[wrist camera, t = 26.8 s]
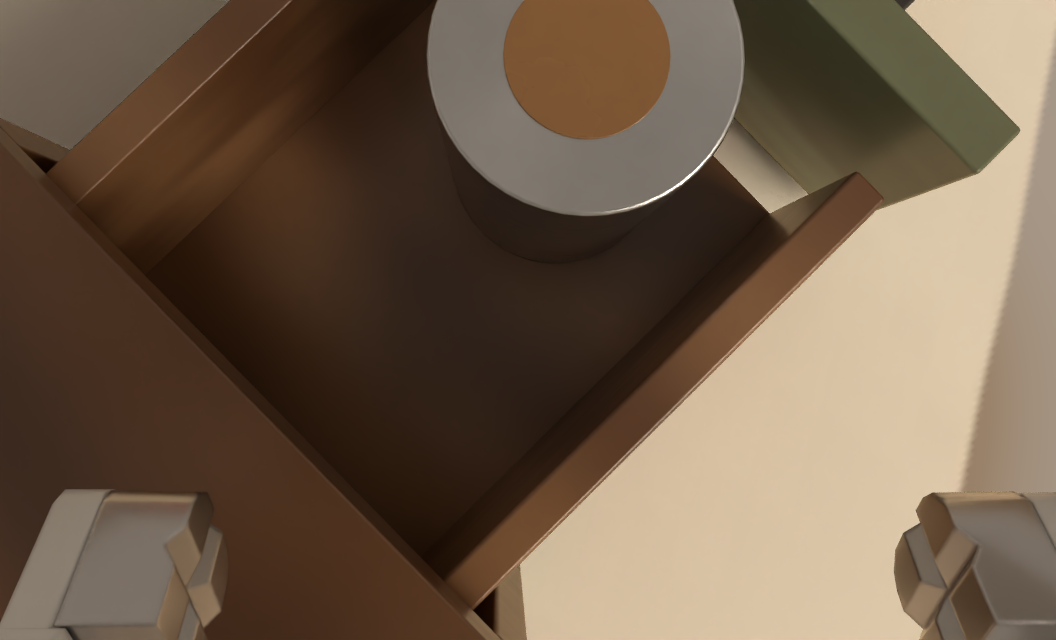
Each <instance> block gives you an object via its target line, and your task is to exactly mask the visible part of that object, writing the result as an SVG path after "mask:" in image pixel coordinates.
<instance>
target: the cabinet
mask: <svg viewBox="0 0 1056 640" xmlns="http://www.w3.org/2000/svg"><path fill="white" fill-rule="evenodd" d="M69 151H70V150H69V149H67V148H64V147H62V146H60V145H58V144H56V143H54V142H51V141H49V140H47V139H45V138H43V137H40V136H38V135H36V134H34V133H32V132H29V131H27V130H25V129H23V128H21V127H19V126H16V125H14V124H12V123H10V122H8V121H5V120H3V119H1V118H0V622H1V620H2V617H3V615H4V613H5V610H6V608H7V606H8V604H9V601H10V599H11V597H12V595H13V592H14V590H15V588H16V586H17V583H18V581H19V579H20V576H21V574H22V572H23V570H24V567H25V565H26V563H27V561H28V558H29V556H30V554H31V552H32V549H33V547H34V545H35V542H36V540H37V538H38V536H39V533H40V531H41V529H42V527H43V524H44V522H45V520H46V518H47V515H48V513H49V511H50V508H51V506H52V504H53V503H54V502H55V500H56V499H57V498H58V497H59V496H60V495H61V494H62V492H63V491H64V490H65V489H114V490H150V491H207V492H208V494H209V497H210V499H211V501H212V504H213V506H214V508H215V509H214V513H213V516H212V520H211V524H212V525H214V526H215V527H217V528H218V529H220V530H221V531H223V534H224V537H225V540H226V543H227V549H228V558H229V567H228V579H227V589H226V593H225V597H224V602H223V606H222V610H221V612H220V613H219V614H218V615H217V616H216V617H215V618H214V619H213V620H212V621H211V622H210V623H209V624H208V625H207V626H206V627H205V628H204V631H205V633H206V636H207V638H208V640H527V637H526V626H525V615H524V604H523V593H522V582H521V572H520V564H519V565H518V566H517V567H516V568H515V569H514V570H513V571H512V572H511V573H510V574H509V575H508V576H507V577H506V578H505V579H504V580H503V581H502V582H501V583H500V584H499V585H498V586H497V587H496V588H495V589H494V590H493V591H492V592H491V593H490V594H489V595H488V596H487V597H486V598H485V599H484V600H483V601H482V602H481V603H480V604H479V605H478V606H477V607H476V608H475V609H474V610H472V609H471V608H470V607H469V606H468V605H467V604H466V603H465V602H464V601H463V600H462V599H461V598H460V597H459V596H458V595H457V594H456V593H455V592H454V591H453V590H452V589H451V588H450V587H449V586H448V585H447V584H446V583H445V582H444V581H443V580H442V579H441V578H440V577H439V576H438V575H437V574H436V572H435V571H434V570H433V569H432V568H431V567H430V566H429V565H428V564H427V563H426V562H425V561H424V560H423V559H422V558H421V557H420V556H419V555H418V554H417V553H416V552H415V551H414V550H413V549H412V548H411V547H410V546H409V545H408V544H407V543H406V542H405V541H404V540H403V539H402V538H401V537H400V536H399V535H398V534H397V533H396V532H395V531H394V530H393V529H392V527H391V526H390V525H389V524H388V523H387V522H386V521H385V520H384V519H383V518H382V517H381V516H380V515H379V514H378V513H377V512H376V511H375V510H374V509H373V508H372V507H371V506H370V505H369V504H368V503H367V502H366V501H365V500H364V499H363V498H362V497H361V496H360V495H359V494H358V493H357V492H356V491H355V490H354V489H353V488H352V487H351V486H350V485H349V484H348V482H347V481H346V480H345V479H344V478H343V477H342V476H341V475H340V474H339V473H338V472H337V471H336V470H335V469H334V468H333V467H332V466H331V465H330V464H329V463H328V462H327V461H326V460H325V459H324V458H323V457H322V456H321V455H320V454H319V453H318V452H317V451H316V450H315V449H314V448H313V447H312V446H311V445H310V444H309V443H308V442H307V441H306V440H305V439H304V437H303V436H302V435H301V434H300V433H299V432H298V431H297V430H296V429H295V428H294V427H293V426H292V425H291V424H290V423H289V422H288V421H287V420H286V419H285V418H284V417H283V416H282V415H281V414H280V413H279V412H278V411H277V410H276V409H275V408H274V407H273V406H272V405H271V404H270V403H269V402H268V401H267V400H266V399H265V398H264V397H263V396H262V395H261V394H260V392H259V391H258V390H257V389H256V388H255V387H254V386H253V385H252V384H251V383H250V382H249V381H248V380H247V379H246V378H245V377H244V376H243V375H242V374H241V373H240V372H239V371H238V370H237V369H236V368H235V367H234V366H233V365H232V364H231V363H230V362H229V361H228V360H227V359H226V358H225V357H224V356H223V355H222V354H221V353H220V352H219V351H218V350H217V349H216V348H215V346H214V345H213V344H212V343H211V342H210V341H209V340H208V339H207V338H206V337H205V336H204V335H203V334H202V333H201V332H200V331H199V330H198V329H197V328H196V327H195V326H194V325H193V324H192V323H191V322H190V321H189V320H188V319H187V318H186V317H185V316H184V315H183V314H182V313H181V312H180V311H179V310H178V309H177V308H176V307H175V306H174V305H173V304H172V303H171V301H170V300H169V299H168V298H167V297H166V296H165V295H164V294H163V293H162V292H161V291H160V290H159V289H158V288H157V287H156V286H155V285H154V284H153V283H152V282H151V281H150V280H149V279H148V278H147V277H146V276H145V275H144V274H143V273H142V272H141V271H140V270H139V269H138V268H137V267H136V266H135V265H134V264H133V263H132V262H131V261H130V260H129V259H128V258H127V256H126V255H125V254H124V253H123V252H122V251H121V250H120V249H119V248H118V247H117V246H116V245H115V244H114V243H113V242H112V241H111V240H110V239H109V238H108V237H107V236H106V235H105V234H104V233H103V232H102V231H101V230H100V229H99V228H98V227H97V226H96V225H95V224H94V223H93V222H92V221H91V220H90V219H89V218H88V217H87V216H86V215H85V214H84V213H83V211H82V210H81V209H80V208H79V207H78V206H77V205H76V204H75V203H74V202H73V201H72V200H71V199H70V198H69V197H68V196H67V195H66V194H65V193H64V192H63V191H62V190H61V189H60V188H59V187H58V186H57V185H56V184H55V183H54V182H53V181H52V180H51V179H50V178H49V177H48V176H47V175H46V173H47V172H48V171H49V170H50V169H51V168H52V167H53V166H54V165H55V164H56V163H58V162H59V161H60V160H61V159H62V158H63V157H64V156H65V155H66V154H67V153H68V152H69Z"/></svg>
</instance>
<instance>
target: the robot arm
mask: <svg viewBox="0 0 1056 640" xmlns="http://www.w3.org/2000/svg"><path fill="white" fill-rule="evenodd" d="M214 509H215V508H214V506H213V504H212V501H211V499H210V497H209V494H208V492H207V491H150V490H114V489H65V490H64V491H63V492H62V494H61V495H60V496H59V497H58V498H57V499H56V500H55V502H54V503H53V504H52V506H51V508H50V511H49V513H48V515H47V518H46V520H45V522H44V524H43V527H42V529H41V531H40V533H39V536H38V538H37V540H36V542H35V545H34V547H33V549H32V552H31V554H30V556H29V558H28V561H27V563H26V565H25V567H24V570H23V572H22V574H21V576H20V579H19V581H18V583H17V586H16V588H15V590H14V592H13V595H12V597H11V599H10V601H9V604H8V606H7V608H6V610H5V613H4V615H3V617H2V620H1V622H0V640H208V638H207V636H206V633H205V631H204V628H205V627H206V626H207V625H208V624H209V623H210V622H211V621H212V620H213V619H214V618H215V617H216V616H217V615H218V614H219V613H220V612H221V610H222V606H223V602H224V597H225V593H226V589H227V579H228V567H229V558H228V549H227V543H226V540H225V537H224V534H223V531H221V530H220V529H218V528H217V527H215V526H214V525H212V524H211V520H212V516H213V513H214ZM916 513H917V515H918V518H919V521H920V523H919V524H918V525H916V526H914V527H913V528H911V529H909V530H908V531H906V532H904V533H903V535H902V537H901V539H900V541H899V543H898V545H897V548H896V550H895V563H894V575H895V581H896V587H897V592H898V595H899V598H900V601H901V604H902V607H903V610H904V612H905V613H907V614H908V615H909V616H910V617H911V618H912V619H913V620H914V621H915V622H916V623H917V624H918V625H919V626H921V627H922V628H923V631H922V633H921V636H920V639H919V640H1056V493H1015V492H950V493H931V494H929V495H927V496H925V497H923V499H922V501H921V502H920V504H919V506H918V508H917V509H916Z"/></svg>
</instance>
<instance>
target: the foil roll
mask: <svg viewBox="0 0 1056 640" xmlns="http://www.w3.org/2000/svg"><path fill="white" fill-rule="evenodd" d="M426 61H427V77H428V82H429V88H430V93H431V98H432V101H433V105H434V108H435V112H436V116H437V119H438V123H439V127H440V130H441V134H442V138H443V141H444V145H445V149H446V152H447V156H448V159H449V163H450V167H451V170H452V174H453V178H454V181H455V185H456V188H457V191H458V194H459V197H460V200H461V202H462V204H463V206H464V208H465V210H466V212H467V213H468V215H469V216H470V218H471V219H472V221H473V222H474V223H475V225H476V226H477V227H478V228H479V229H480V230H481V232H482V233H484V234H485V235H486V236H487V237H488V238H489V239H490V240H491V241H493V242H494V243H495V244H497V245H498V246H500V247H501V248H503V249H505V250H507V251H509V252H511V253H513V254H514V255H517V256H520V257H523V258H525V259H528V260H533V261H538V262H545V263H569V262H574V261H579V260H583V259H586V258H590V257H593V256H595V255H597V254H599V253H601V252H604V251H606V250H607V249H609V248H610V247H612V246H614V245H615V244H617V243H618V242H619V241H620V240H622V239H623V238H624V237H625V236H626V235H627V234H628V233H630V232H631V231H632V230H633V229H634V228H635V227H636V226H638V225H639V224H640V223H641V222H642V221H643V220H644V219H646V218H647V217H648V216H649V215H650V214H651V213H652V212H654V211H655V210H656V209H657V208H658V207H659V206H660V205H661V204H663V203H664V202H665V201H666V200H667V199H668V198H669V197H671V196H672V195H673V194H674V193H675V192H676V191H677V190H679V189H680V188H681V187H682V186H683V185H684V184H685V183H686V182H688V181H689V180H690V179H691V178H692V177H693V176H694V175H696V174H697V173H698V172H699V171H700V170H701V169H702V167H703V166H704V165H705V164H706V163H707V162H708V161H709V160H710V158H711V157H712V156H713V155H714V153H715V152H716V150H717V149H718V147H719V146H720V144H721V143H722V141H723V140H724V138H725V136H726V134H727V132H728V130H729V128H730V126H731V124H732V122H733V119H734V117H735V114H736V111H737V108H738V105H739V102H740V97H741V92H742V87H743V83H744V70H745V51H744V39H743V34H742V29H741V23H740V19H739V16H738V13H737V10H736V7H735V4H734V1H733V0H437V2H436V4H435V7H434V10H433V13H432V17H431V21H430V26H429V31H428V38H427V50H426Z"/></svg>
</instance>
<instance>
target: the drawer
mask: <svg viewBox="0 0 1056 640" xmlns="http://www.w3.org/2000/svg"><path fill="white" fill-rule="evenodd" d="M733 1H734V4H735V7H736V10H737V13H738V16H739V19H740V23H741V29H742V34H743V39H744V51H745V70H744V83H743V87H742V92H741V97H740V102H739V105H738V108H737V111H736V114H735V117H734V118H735V119H736V120H737V121H738V122H739V123H740V124H741V125H742V126H743V127H744V128H745V129H746V130H747V131H748V132H749V133H750V134H751V135H752V136H753V138H754V139H755V140H756V141H757V142H758V143H759V144H760V145H761V146H762V147H763V148H764V149H765V150H766V151H767V152H768V153H769V154H770V155H771V156H772V157H773V158H774V159H775V160H776V161H777V162H778V163H779V164H780V165H781V166H782V167H783V168H784V169H785V170H786V171H787V172H788V173H789V174H790V175H791V176H792V177H793V178H794V179H795V180H796V182H797V183H798V184H799V185H800V186H801V187H802V188H803V189H804V190H805V191H806V192H807V193H808V194H809V195H807V196H805V197H803V198H801V199H798V200H796V201H794V202H792V203H790V204H788V205H786V206H784V207H782V208H780V209H778V210H776V211H774V212H772V213H769V212H768V211H767V210H766V209H765V208H764V207H763V206H762V205H761V204H760V203H759V202H758V201H757V200H756V199H755V198H754V197H753V196H752V195H751V194H750V193H749V192H748V191H747V190H746V189H745V188H744V187H743V186H742V185H741V184H740V183H739V182H738V181H737V180H736V179H735V178H734V177H733V176H732V174H731V173H730V172H729V171H728V170H727V169H726V168H725V167H724V166H723V165H722V164H721V163H720V162H719V161H718V160H717V159H716V158H715V157H714V156H712V157H711V158H710V160H709V161H708V162H707V163H706V164H705V165H704V166H703V167H702V169H701V170H700V171H699V172H698V173H697V174H696V175H694V176H693V177H692V178H691V179H690V180H689V181H688V182H686V183H685V184H684V185H683V186H682V187H681V188H680V189H679V190H677V191H676V192H675V193H674V194H673V195H672V196H671V197H669V198H668V199H667V200H666V201H665V202H664V203H663V204H661V205H660V206H659V207H658V208H657V209H656V210H655V211H654V212H652V213H651V214H650V215H649V216H648V217H647V218H646V219H644V220H643V221H642V222H641V223H640V224H639V225H638V226H636V227H635V228H634V229H633V230H632V231H631V232H630V233H628V234H627V235H626V236H625V237H624V238H623V239H622V240H620V241H619V242H618V243H617V244H615V245H614V246H612V247H610V248H609V249H607V250H606V251H604V252H601V253H599V254H597V255H595V256H593V257H590V258H586V259H583V260H579V261H574V262H569V263H545V262H538V261H533V260H528V259H525V258H523V257H520V256H517V255H514V254H513V253H511V252H509V251H507V250H505V249H503V248H501V247H500V246H498V245H497V244H495V243H494V242H493V241H491V240H490V239H489V238H488V237H487V236H486V235H485V234H484V233H482V232H481V230H480V229H479V228H478V227H477V226H476V225H475V223H474V222H473V221H472V219H471V218H470V216H469V215H468V213H467V212H466V210H465V208H464V206H463V204H462V202H461V200H460V197H459V194H458V191H457V188H456V185H455V181H454V178H453V174H452V170H451V167H450V163H449V159H448V156H447V152H446V149H445V145H444V141H443V138H442V134H441V130H440V127H439V123H438V119H437V116H436V112H435V108H434V105H433V101H432V98H431V93H430V88H429V82H428V77H427V61H426V50H427V38H428V31H429V26H430V21H431V17H432V13H433V10H434V7H435V4H436V2H437V0H230V1H229V2H228V3H227V4H226V5H225V6H224V7H223V8H222V9H221V10H220V11H218V12H217V13H216V14H215V15H214V16H213V17H212V18H211V19H210V20H209V21H208V22H207V23H206V24H205V25H204V26H202V27H201V28H200V29H199V30H198V31H197V32H196V33H195V34H194V35H193V36H192V37H191V38H190V39H189V40H188V41H187V42H185V43H184V44H183V45H182V46H181V47H180V48H179V49H178V50H177V51H176V52H175V53H174V54H173V55H172V56H171V57H169V58H168V59H167V60H166V61H165V62H164V63H163V64H162V65H161V66H160V67H159V68H158V69H157V70H156V71H155V72H153V73H152V74H151V75H150V76H149V77H148V78H147V79H146V80H145V81H144V82H143V83H142V84H141V85H140V86H139V87H137V88H136V89H135V90H134V91H133V92H132V93H131V94H130V95H129V96H128V97H127V98H126V99H125V100H124V101H123V102H121V103H120V104H119V105H118V106H117V107H116V108H115V109H114V110H113V111H112V112H111V113H110V114H109V115H108V116H107V117H106V118H104V119H103V120H102V121H101V122H100V123H99V124H98V125H97V126H96V127H95V128H94V129H93V130H92V131H91V132H90V133H88V134H87V135H86V136H85V137H84V138H83V139H82V140H81V141H80V142H79V143H78V144H77V145H76V146H75V147H74V148H72V149H71V150H70V151H69V152H68V153H67V154H66V155H65V156H64V157H63V158H62V159H61V160H60V161H59V162H58V163H56V164H55V165H54V166H53V167H52V168H51V169H50V170H49V171H48V172H47V173H46V175H47V176H48V177H49V178H50V179H51V180H52V181H53V182H54V183H55V184H56V185H57V186H58V187H59V188H60V189H61V190H62V191H63V192H64V193H65V194H66V195H67V196H68V197H69V198H70V199H71V200H72V201H73V202H74V203H75V204H76V205H77V206H78V207H79V208H80V209H81V210H82V211H83V213H84V214H85V215H86V216H87V217H88V218H89V219H90V220H91V221H92V222H93V223H94V224H95V225H96V226H97V227H98V228H99V229H100V230H101V231H102V232H103V233H104V234H105V235H106V236H107V237H108V238H109V239H110V240H111V241H112V242H113V243H114V244H115V245H116V246H117V247H118V248H119V249H120V250H121V251H122V252H123V253H124V254H125V255H126V256H127V258H128V259H129V260H130V261H131V262H132V263H133V264H134V265H135V266H136V267H137V268H138V269H139V270H140V271H141V272H142V273H143V274H144V275H145V276H146V277H147V278H148V279H149V280H150V281H151V282H152V283H153V284H154V285H155V286H156V287H157V288H158V289H159V290H160V291H161V292H162V293H163V294H164V295H165V296H166V297H167V298H168V299H169V300H170V301H171V303H172V304H173V305H174V306H175V307H176V308H177V309H178V310H179V311H180V312H181V313H182V314H183V315H184V316H185V317H186V318H187V319H188V320H189V321H190V322H191V323H192V324H193V325H194V326H195V327H196V328H197V329H198V330H199V331H200V332H201V333H202V334H203V335H204V336H205V337H206V338H207V339H208V340H209V341H210V342H211V343H212V344H213V345H214V346H215V348H216V349H217V350H218V351H219V352H220V353H221V354H222V355H223V356H224V357H225V358H226V359H227V360H228V361H229V362H230V363H231V364H232V365H233V366H234V367H235V368H236V369H237V370H238V371H239V372H240V373H241V374H242V375H243V376H244V377H245V378H246V379H247V380H248V381H249V382H250V383H251V384H252V385H253V386H254V387H255V388H256V389H257V390H258V391H259V392H260V394H261V395H262V396H263V397H264V398H265V399H266V400H267V401H268V402H269V403H270V404H271V405H272V406H273V407H274V408H275V409H276V410H277V411H278V412H279V413H280V414H281V415H282V416H283V417H284V418H285V419H286V420H287V421H288V422H289V423H290V424H291V425H292V426H293V427H294V428H295V429H296V430H297V431H298V432H299V433H300V434H301V435H302V436H303V437H304V439H305V440H306V441H307V442H308V443H309V444H310V445H311V446H312V447H313V448H314V449H315V450H316V451H317V452H318V453H319V454H320V455H321V456H322V457H323V458H324V459H325V460H326V461H327V462H328V463H329V464H330V465H331V466H332V467H333V468H334V469H335V470H336V471H337V472H338V473H339V474H340V475H341V476H342V477H343V478H344V479H345V480H346V481H347V482H348V484H349V485H350V486H351V487H352V488H353V489H354V490H355V491H356V492H357V493H358V494H359V495H360V496H361V497H362V498H363V499H364V500H365V501H366V502H367V503H368V504H369V505H370V506H371V507H372V508H373V509H374V510H375V511H376V512H377V513H378V514H379V515H380V516H381V517H382V518H383V519H384V520H385V521H386V522H387V523H388V524H389V525H390V526H391V527H392V529H393V530H394V531H395V532H396V533H397V534H398V535H399V536H400V537H401V538H402V539H403V540H404V541H405V542H406V543H407V544H408V545H409V546H410V547H411V548H412V549H413V550H414V551H415V552H416V553H417V554H418V555H419V556H420V557H421V558H422V559H423V560H424V561H425V562H426V563H427V564H428V565H429V566H430V567H431V568H432V569H433V570H434V571H435V572H436V574H437V575H438V576H439V577H440V578H441V579H442V580H443V581H444V582H445V583H446V584H447V585H448V586H449V587H450V588H451V589H452V590H453V591H454V592H455V593H456V594H457V595H458V596H459V597H460V598H461V599H462V600H463V601H464V602H465V603H466V604H467V605H468V606H469V607H470V608H471V609H472V610H474V609H475V608H476V607H477V606H478V605H479V604H480V603H481V602H482V601H483V600H484V599H485V598H486V597H487V596H488V595H489V594H490V593H491V592H492V591H493V590H494V589H495V588H496V587H497V586H498V585H499V584H500V583H501V582H502V581H503V580H504V579H505V578H506V577H507V576H508V575H509V574H510V573H511V572H512V571H513V570H514V569H515V568H516V567H517V566H518V565H519V564H520V563H521V562H522V561H523V560H524V559H525V558H526V557H527V556H528V555H529V554H530V553H531V552H532V551H533V550H534V549H535V548H536V547H537V546H538V545H539V544H540V543H541V542H542V541H543V540H544V539H545V538H546V537H547V536H548V535H549V534H551V533H552V532H553V531H554V530H555V529H556V528H557V527H558V526H559V525H560V524H561V523H562V522H563V521H564V520H565V519H566V518H567V517H568V516H569V515H570V514H571V513H572V512H573V511H574V510H575V509H576V508H577V507H578V506H579V505H580V504H581V503H582V502H583V501H584V500H585V499H586V498H587V497H588V496H589V495H590V494H591V493H592V492H593V491H594V490H595V489H596V488H597V487H598V486H599V485H600V484H601V483H602V482H603V481H604V480H605V479H606V478H607V477H608V476H609V475H610V474H611V473H612V472H613V471H614V470H615V469H616V468H617V467H618V466H619V465H620V464H621V463H622V462H623V461H624V460H625V459H626V458H627V457H628V456H629V455H630V454H631V453H632V452H633V451H634V450H635V449H636V448H637V447H638V446H639V445H640V444H641V443H642V442H643V441H644V440H645V439H646V438H647V437H648V436H649V435H650V434H651V433H652V432H653V431H654V430H655V429H656V428H657V427H658V426H659V425H660V424H661V423H662V422H663V421H664V420H665V419H666V418H667V417H668V416H669V415H670V414H671V413H672V412H673V411H674V410H675V409H676V408H677V407H678V406H679V405H680V404H681V403H682V402H683V401H684V400H685V399H686V398H687V397H688V396H689V395H690V394H691V393H692V392H694V391H695V390H696V389H697V388H698V387H699V386H700V385H701V384H702V383H703V382H704V381H705V380H706V379H707V378H708V377H709V376H710V375H711V374H712V373H713V372H714V371H715V370H716V369H717V368H718V367H719V366H720V365H721V364H722V363H723V362H724V361H725V360H726V359H727V358H728V357H729V356H730V355H731V354H732V353H733V352H734V351H735V350H736V349H737V348H738V347H739V346H740V345H741V344H742V343H743V342H744V341H745V340H746V339H747V338H748V337H749V336H750V335H751V334H752V333H753V332H754V331H755V330H756V329H757V328H758V327H759V326H760V325H761V324H762V323H763V322H764V321H765V320H766V319H767V318H768V317H769V316H770V315H771V314H772V313H773V312H774V311H775V310H776V309H777V308H778V307H779V306H780V305H781V304H782V303H783V302H784V301H785V300H786V299H787V298H788V297H789V296H790V295H791V294H792V293H793V292H794V291H795V290H796V289H797V288H798V287H799V286H800V285H801V284H802V283H803V282H804V281H805V280H806V279H807V278H808V277H809V276H810V275H811V274H812V273H813V272H814V271H815V270H816V269H817V268H818V267H819V266H820V265H821V264H822V263H823V262H824V261H825V260H826V259H827V258H828V257H829V256H830V255H831V254H832V253H833V252H834V251H835V250H836V249H838V248H839V247H840V246H841V245H842V244H843V243H844V242H845V241H846V240H847V239H848V238H849V237H850V236H851V235H852V234H853V233H854V232H855V231H856V230H857V229H858V228H859V227H860V226H861V225H862V224H863V223H864V222H865V221H866V220H867V219H868V218H869V217H870V216H871V215H872V214H873V213H874V212H875V211H876V210H879V209H881V208H884V207H887V206H890V205H892V204H895V203H898V202H901V201H904V200H906V199H909V198H912V197H915V196H917V195H920V194H923V193H926V192H928V191H931V190H934V189H937V188H939V187H942V186H945V185H948V184H950V183H953V182H956V181H959V180H962V179H964V178H967V177H970V176H973V175H975V174H978V173H980V172H981V171H982V170H983V169H984V168H985V167H986V166H987V165H988V164H989V163H990V162H991V161H992V160H993V159H994V158H995V157H996V156H997V155H998V154H999V153H1000V152H1001V151H1002V150H1003V149H1004V148H1005V147H1006V146H1007V145H1008V144H1009V143H1010V142H1011V141H1012V140H1013V139H1014V138H1015V137H1016V136H1017V135H1018V134H1019V132H1020V129H1019V127H1018V126H1017V125H1016V124H1015V123H1014V122H1013V121H1012V120H1011V119H1010V118H1009V117H1008V116H1007V115H1006V114H1005V113H1004V112H1003V111H1002V110H1001V109H1000V108H999V107H998V106H997V105H996V104H995V103H994V102H993V101H992V99H991V98H990V97H989V96H988V95H987V94H986V93H985V92H984V91H983V90H982V89H981V88H980V87H979V86H978V85H977V84H976V83H975V82H974V81H973V80H972V79H971V78H970V77H969V76H968V75H967V74H966V73H965V72H964V71H963V70H962V69H961V68H960V67H959V66H958V65H957V64H956V63H955V62H954V61H953V60H952V59H951V58H950V56H949V55H948V54H947V53H946V52H945V51H944V50H943V49H942V48H941V47H940V46H939V45H938V44H937V43H936V42H935V41H934V40H933V39H932V38H931V37H930V36H929V35H928V34H927V33H926V32H925V31H924V30H923V29H922V28H921V27H920V26H919V25H918V24H917V23H916V22H915V21H914V20H913V19H912V18H911V17H910V16H909V15H908V13H907V12H906V11H905V9H906V8H907V7H908V6H909V5H910V4H911V3H913V2H914V1H915V0H733Z"/></svg>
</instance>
